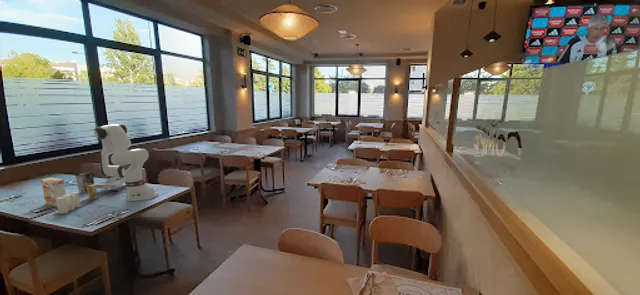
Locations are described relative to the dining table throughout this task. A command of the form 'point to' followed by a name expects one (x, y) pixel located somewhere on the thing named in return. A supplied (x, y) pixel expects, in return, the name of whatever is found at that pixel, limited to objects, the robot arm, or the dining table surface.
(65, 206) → the tile
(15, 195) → the dining table surface
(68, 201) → the tile
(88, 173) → the coffee box
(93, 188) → the wooden block
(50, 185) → the coffeecake box
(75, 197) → the tile
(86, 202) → the mat
